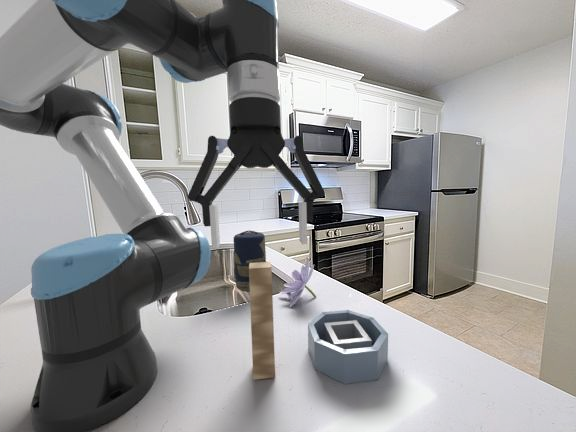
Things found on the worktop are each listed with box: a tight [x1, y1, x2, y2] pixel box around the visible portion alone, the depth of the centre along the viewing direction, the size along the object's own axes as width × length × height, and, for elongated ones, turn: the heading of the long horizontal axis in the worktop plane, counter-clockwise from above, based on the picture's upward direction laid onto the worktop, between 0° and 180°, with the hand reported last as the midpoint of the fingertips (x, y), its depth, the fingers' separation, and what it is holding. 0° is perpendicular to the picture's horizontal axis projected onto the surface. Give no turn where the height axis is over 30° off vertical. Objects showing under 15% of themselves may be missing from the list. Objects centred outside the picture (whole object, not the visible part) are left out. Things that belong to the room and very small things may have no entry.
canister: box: [233, 230, 267, 293], centre depth 75 cm, size 10×10×18 cm
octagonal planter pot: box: [307, 309, 389, 385], centre depth 44 cm, size 13×13×5 cm
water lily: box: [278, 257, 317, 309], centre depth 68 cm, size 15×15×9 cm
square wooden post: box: [249, 261, 276, 381], centre depth 40 cm, size 4×4×18 cm
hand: (260, 245), depth 39 cm, fingers open, 13 cm apart
